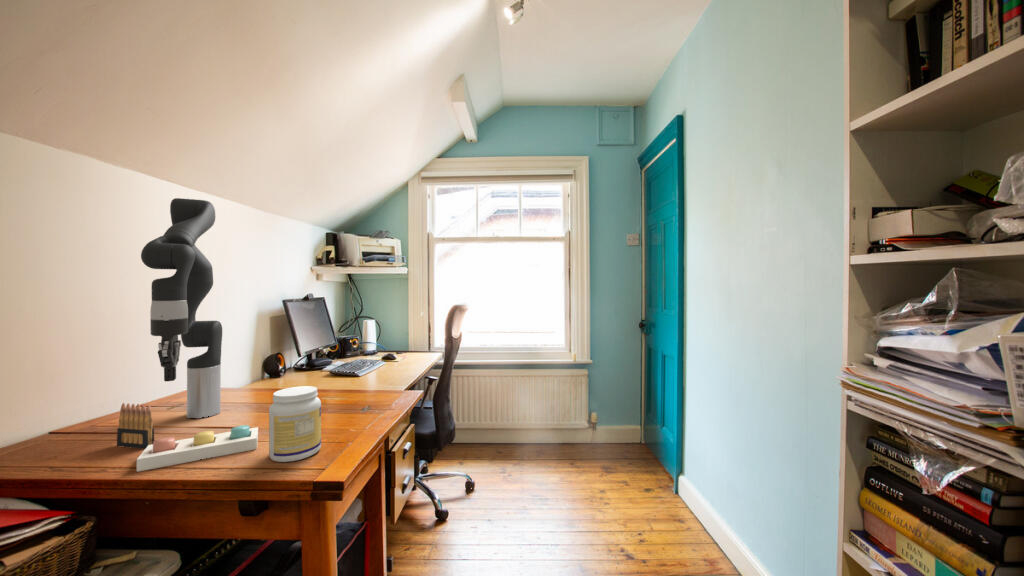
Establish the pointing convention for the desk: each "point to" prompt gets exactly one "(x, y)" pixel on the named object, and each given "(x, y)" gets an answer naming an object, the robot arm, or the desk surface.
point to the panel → (196, 450)
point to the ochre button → (204, 438)
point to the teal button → (240, 432)
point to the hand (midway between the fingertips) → (170, 380)
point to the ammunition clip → (135, 427)
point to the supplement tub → (294, 424)
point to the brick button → (164, 444)
